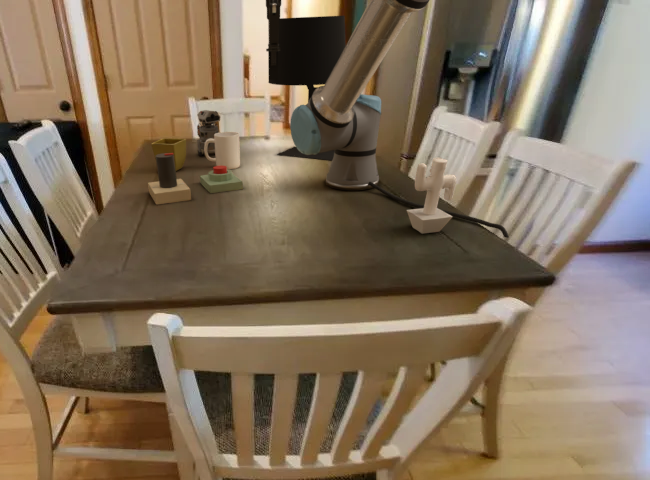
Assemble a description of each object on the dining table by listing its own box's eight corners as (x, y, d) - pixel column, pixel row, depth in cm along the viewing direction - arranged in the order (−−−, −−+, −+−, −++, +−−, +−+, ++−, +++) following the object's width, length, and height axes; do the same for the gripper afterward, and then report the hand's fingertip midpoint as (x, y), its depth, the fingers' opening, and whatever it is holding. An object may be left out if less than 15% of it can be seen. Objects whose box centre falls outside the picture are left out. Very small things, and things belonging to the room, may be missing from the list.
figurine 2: (453, 232, 104) (470, 160, 95) (415, 237, 103) (429, 164, 94) (435, 221, 110) (450, 153, 101) (399, 226, 108) (411, 157, 99)
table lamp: (354, 151, 171) (367, 14, 147) (321, 169, 152) (331, 15, 128) (292, 146, 182) (295, 18, 158) (255, 161, 164) (252, 19, 139)
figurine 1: (201, 160, 169) (197, 113, 160) (197, 153, 178) (193, 108, 169) (225, 158, 170) (223, 111, 161) (220, 151, 179) (218, 107, 170)
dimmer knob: (161, 188, 129) (156, 156, 124) (158, 184, 133) (153, 153, 128) (178, 186, 131) (175, 154, 126) (175, 182, 134) (171, 151, 129)
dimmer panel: (191, 200, 130) (190, 188, 128) (156, 204, 128) (154, 192, 126) (182, 189, 139) (181, 178, 138) (149, 193, 137) (147, 182, 135)
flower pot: (154, 172, 157) (150, 143, 151) (167, 165, 163) (163, 137, 158) (177, 173, 154) (173, 144, 149) (189, 167, 160) (186, 138, 155)
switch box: (242, 189, 137) (242, 174, 135) (210, 193, 135) (209, 178, 132) (231, 179, 146) (230, 165, 144) (200, 183, 144) (199, 169, 142)
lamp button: (228, 174, 137) (228, 167, 136) (215, 175, 136) (215, 169, 135) (224, 171, 140) (224, 164, 139) (212, 172, 139) (211, 166, 138)
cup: (239, 169, 156) (238, 136, 150) (204, 170, 157) (201, 137, 150) (241, 163, 162) (239, 131, 156) (207, 164, 163) (204, 132, 157)
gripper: (289, -35, 111) (288, 81, 125) (287, -30, 121) (285, 76, 135) (258, -34, 111) (260, 82, 125) (258, -29, 122) (259, 77, 136)
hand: (273, 79), depth 130 cm, fingers closed
